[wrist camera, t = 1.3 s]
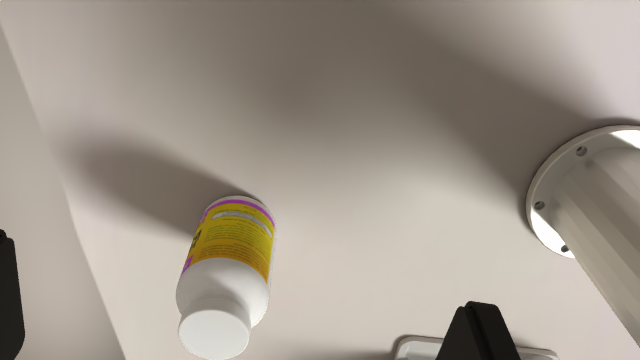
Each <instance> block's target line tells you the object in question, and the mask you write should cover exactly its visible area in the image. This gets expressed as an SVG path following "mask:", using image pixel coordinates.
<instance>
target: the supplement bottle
mask: <svg viewBox="0 0 640 360" xmlns="http://www.w3.org/2000/svg"><path fill="white" fill-rule="evenodd" d="M275 241H276V223H275V220H274V217H273V216H272V214H271V212H270V211H269V210H268V209H267V208H266V207H265V206H264V205H263V204H261V203H260V202H258V201H257V200H254V199H252V198H249V197H245V196H227V197H223V198H220V199H218V200H216V201H214V202H213V203H212V204H210V205H209V206H208V207H207V208H206V209H205V211H204V213H203V214H202V217H201V219H200V222H199V224H198V227H197V230H196V233H195V236H194V239H193V242H192V245H191V247H190V250H189V253H188V256H187V259H186V262H185V265H184V268H183V271H182V274H181V276H180V279H179V282H178V285H177V289H176V302H177V306H178V308H179V311H180V313H181V314H182V317H181V321H180V324H179V327H178V336H179V339H180V342H181V343H182V345H183V346H184V347H185V348H186V349H187V350H188V351H189V352H191V353H192V354H194V355H196V356H198V357H201V358H204V359H208V360H225V359H229V358H232V357H235V356H237V355H238V354H240V353H241V352H242V351H243V350H244V349H245V348H246V346H247V344H248V341H249V336H250V331H251V328H252V327H254V326H255V325H256V324H257V323H258V322H259V321H260V320H261V319H262V317H263V316H264V314H265V312H266V309H267V306H268V300H269V291H270V282H271V274H272V266H273V257H274V249H275Z"/></svg>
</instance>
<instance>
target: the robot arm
mask: <svg viewBox="0 0 640 360" xmlns="http://www.w3.org/2000/svg"><path fill="white" fill-rule="evenodd" d="M526 216H527V219H528V222H529V225H530V227H531V228H532V230H533V232H534V234H535V235H536V237H537V238H538V239H539V240H540V241H541V243H542V244H543V245H545V246H546V247H547V248H549V249H550V250H551V251H553V252H555V253H557V254H559V255H562V256H566V257H570V258H574V259H576V260H577V261H578V263H579V264H580V265H581V267H582V268H583V270H584V271H585V272H586V274H587V275H588V277H589V278H590V279H591V281H592V282H593V284H594V285H595V286H596V288H597V289H598V291H599V292H600V293H601V295H602V296H603V297H604V299H605V300H606V302H607V303H608V304H609V306H610V307H611V309H612V310H613V311H614V313H615V314H616V316H617V317H618V318H619V320H620V321H621V322H622V324H623V325H624V327H625V328H626V329H627V331H628V332H629V334H630V335H631V336H632V338H633V339H634V341H635V342H636V343H637V345H638V346H639V348H640V127H639V126H631V125H615V126H606V127H603V128H599V129H595V130H591V131H589V132H587V133H584V134H582V135H580V136H577V137H575V138H574V139H572V140H570V141H569V142H567V143H566V144H564V145H562V146H561V147H560V148H559V149H558V150H556V151H555V152H554V153H553V154H552V155H550V156H549V158H548V159H547V160H546V161H545V162H544V163H543V164H542V166H541V167H540V168H539V170H538V171H537V173H536V175H535V176H534V178H533V179H532V182H531V185H530V187H529V190H528V193H527V199H526ZM24 338H25V329H24V320H23V313H22V304H21V295H20V287H19V279H18V271H17V262H16V254H15V246H14V241H13V240H12V239H11V238H7V236H6V233H5V232H4V230H1V229H0V360H14V359H15V357H16V356H17V354H18V353H19V351H20V350H21V348H22V345H23V342H24ZM435 360H521V358H520V356H519V354H518V351H517V349H516V347H515V345H514V342H513V340H512V338H511V335H510V333H509V331H508V328H507V326H506V324H505V322H504V319H503V317H502V315H501V312H500V310H499V308H498V307H497V306H496V305H493V304H487V303H480V302H474V301H469V302H468V303H466V305H465V307H462V306H460V307H459V308H458V309H457V310H456V313H455V315H454V317H453V320H452V322H451V324H450V327H449V329H448V331H447V334H446V336H445V338H444V341H443V343H442V345H441V348H440V350H439V352H438V355H437V357H436V359H435Z"/></svg>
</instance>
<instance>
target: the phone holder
mask: <svg viewBox="0 0 640 360" xmlns="http://www.w3.org/2000/svg"><path fill="white" fill-rule="evenodd" d="M443 341H444V339H437V338H428V337H419V336H409V337H406V338H404V339H402V340H401V341H400V342H399V344H398V347H397V351H396V354H395V357H394V360H435V359H436V357H437V355H438V352H439V350H440V348H441V345H442V343H443ZM516 349H517V351H518V354H519V356H520V358H521V360H559V358H558V356H557V354H556V353H555V352H553V351H550V350H541V349H531V348H522V347H516Z"/></svg>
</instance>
